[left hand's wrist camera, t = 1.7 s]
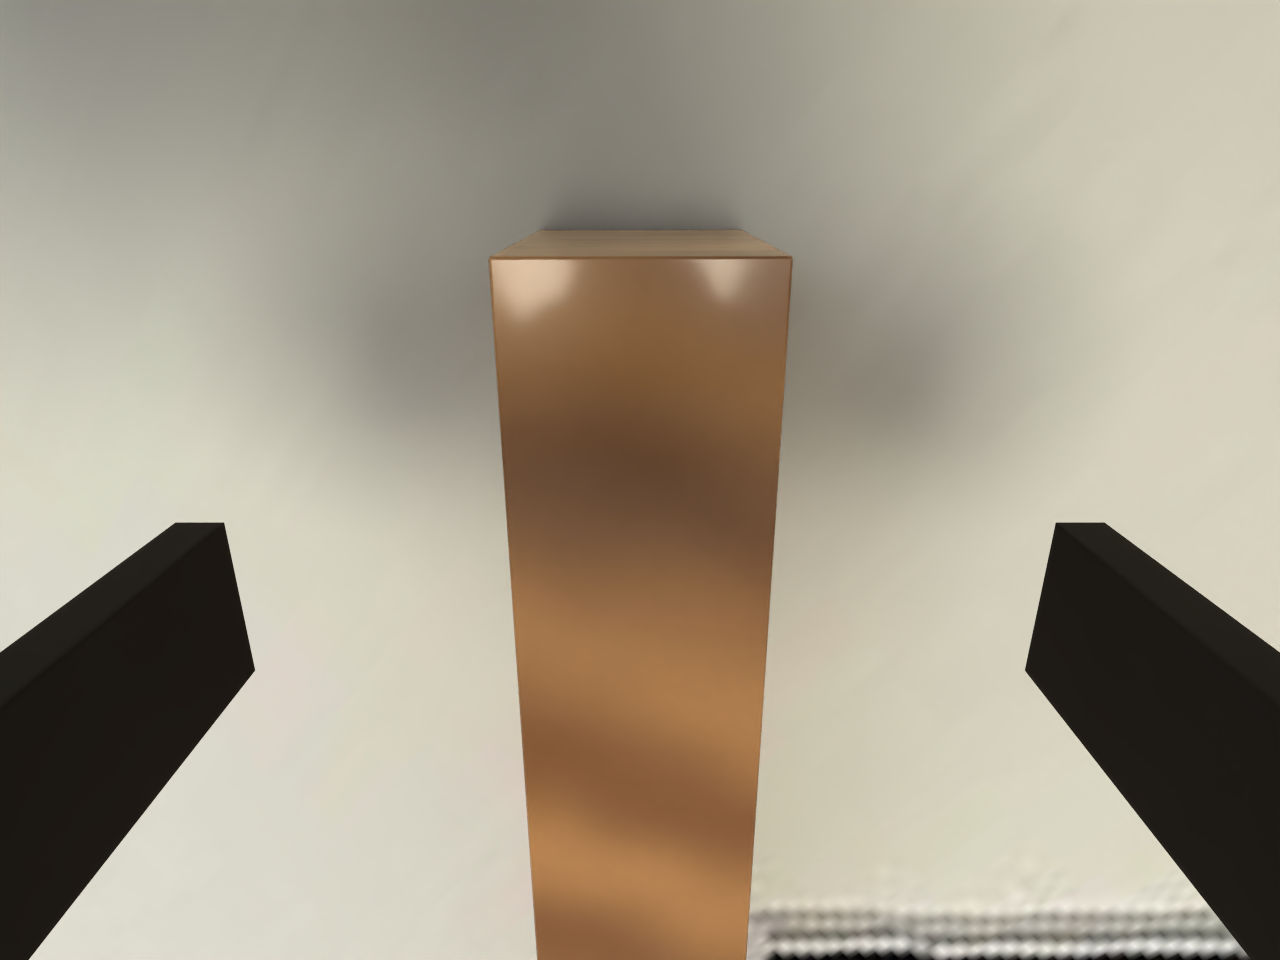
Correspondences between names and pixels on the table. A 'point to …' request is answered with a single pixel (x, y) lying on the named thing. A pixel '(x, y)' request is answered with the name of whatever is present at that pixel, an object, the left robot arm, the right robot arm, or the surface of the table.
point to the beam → (641, 574)
